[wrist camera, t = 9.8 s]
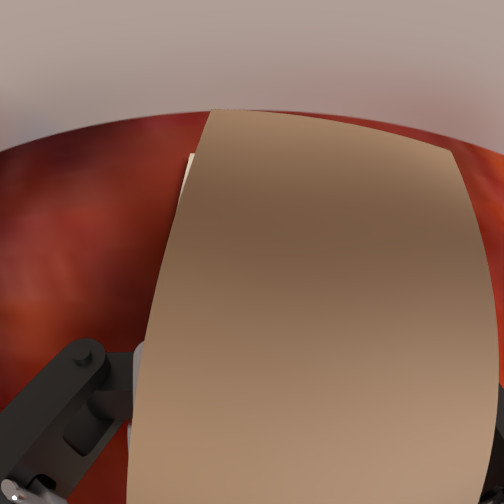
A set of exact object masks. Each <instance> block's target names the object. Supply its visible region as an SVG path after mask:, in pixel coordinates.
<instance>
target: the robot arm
mask: <svg viewBox="0 0 504 504" xmlns="http://www.w3.org/2000/svg"><path fill="white" fill-rule="evenodd" d="M143 346H144V341H143V342H142V343H141V344H139V345H138V347H137V348H136V349H135V351H132V352H115V353H106V352H105V349H104V347H103V345H102V344H101V343H99V342H98V341H96V340H94V339H89V338H83V339H78V340H75V341H73V342H71V343H70V344H68V345H67V346H66V347H65V348H64V349H63V350H62V351H61V352H60V353H59V354H58V355H57V356H56V357H55V358H54V359H53V360H51V361H50V362H49V363H48V364H47V365H46V366H45V367H44V368H43V369H42V370H41V371H40V372H39V373H38V374H37V375H36V376H35V377H34V378H33V379H32V380H31V381H30V382H29V383H28V384H27V385H26V387H25V388H24V389H23V390H22V391H21V392H20V393H19V394H18V395H17V396H16V397H15V398H14V399H13V400H12V401H11V402H10V403H9V404H8V405H7V407H6V408H5V409H4V410H3V411H2V412H1V413H0V504H68V503H67V501H66V499H67V498H68V497H69V495H70V494H71V493H72V491H73V490H74V489H75V487H76V486H77V484H78V483H79V482H80V480H81V479H82V478H83V476H84V475H85V474H86V472H87V471H88V470H89V468H90V467H91V466H92V464H93V463H94V461H95V460H96V459H97V457H98V456H99V455H100V453H101V452H102V451H103V449H104V448H105V447H106V445H107V444H108V443H109V441H110V440H111V438H112V437H113V436H114V434H115V433H116V432H117V430H118V429H119V428H120V426H121V425H122V424H123V422H124V421H125V420H126V419H133V410H134V403H135V395H136V388H137V382H138V375H139V369H140V363H141V357H142V352H143ZM131 427H132V421H129V423H128V431H127V432H128V453H129V448H130V437H131ZM478 504H504V389H503V388H502V386H501V385H500V383H499V385H498V403H497V414H496V423H495V431H494V438H493V444H492V450H491V455H490V460H489V465H488V469H487V473H486V477H485V481H484V485H483V488H482V492H481V495H480V498H479V502H478Z"/></svg>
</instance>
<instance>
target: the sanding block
mask: <svg viewBox="0 0 504 504" xmlns="http://www.w3.org/2000/svg"><path fill="white" fill-rule="evenodd" d="M498 385H499V351H498V333H497V321H496V311H495V303H494V296H493V289H492V283H491V278H490V272H489V267H488V263H487V258H486V254H485V249H484V245H483V241H482V237H481V234H480V230H479V227H478V223H477V220H476V216H475V213H474V210H473V207H472V204H471V201H470V198H469V195H468V192H467V190H466V187H465V184H464V182H463V179H462V177H461V174H460V172H459V169H458V167H457V164H456V162H455V160H454V157H453V155H452V153H451V151H449V150H446V149H443V148H440V147H437V146H434V145H431V144H428V143H424V142H421V141H418V140H414V139H411V138H407V137H404V136H400V135H396V134H392V133H388V132H384V131H380V130H376V129H372V128H367V127H362V126H358V125H353V124H348V123H342V122H337V121H331V120H325V119H319V118H312V117H305V116H298V115H290V114H281V113H271V112H259V111H245V110H225V109H212V110H211V112H210V115H209V117H208V120H207V122H206V125H205V128H204V130H203V133H202V136H201V138H200V141H199V144H198V147H197V149H196V152H195V155H194V158H193V161H192V164H191V167H190V170H189V173H188V176H187V179H186V182H185V185H184V188H183V191H182V194H181V197H180V201H179V204H178V207H177V211H176V214H175V217H174V221H173V224H172V228H171V231H170V235H169V238H168V242H167V246H166V249H165V253H164V257H163V261H162V265H161V269H160V273H159V277H158V281H157V285H156V289H155V293H154V298H153V302H152V307H151V311H150V316H149V321H148V326H147V331H146V336H145V341H144V346H143V352H142V357H141V363H140V369H139V375H138V382H137V388H136V395H135V403H134V410H133V419H132V427H131V437H130V448H129V460H128V476H127V502H126V504H478V502H479V498H480V495H481V492H482V488H483V485H484V481H485V477H486V473H487V469H488V465H489V460H490V455H491V450H492V444H493V438H494V431H495V423H496V414H497V403H498Z"/></svg>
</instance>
